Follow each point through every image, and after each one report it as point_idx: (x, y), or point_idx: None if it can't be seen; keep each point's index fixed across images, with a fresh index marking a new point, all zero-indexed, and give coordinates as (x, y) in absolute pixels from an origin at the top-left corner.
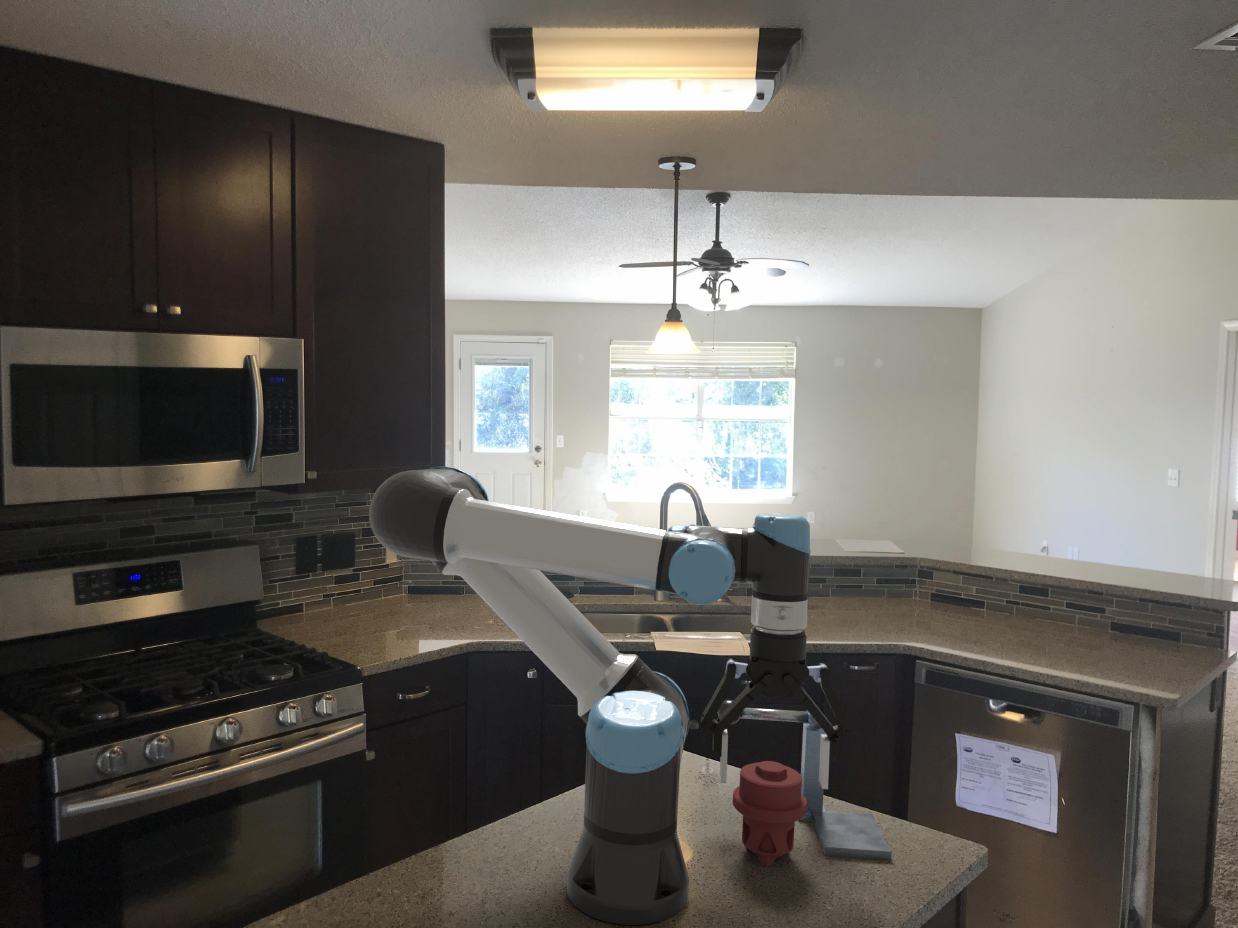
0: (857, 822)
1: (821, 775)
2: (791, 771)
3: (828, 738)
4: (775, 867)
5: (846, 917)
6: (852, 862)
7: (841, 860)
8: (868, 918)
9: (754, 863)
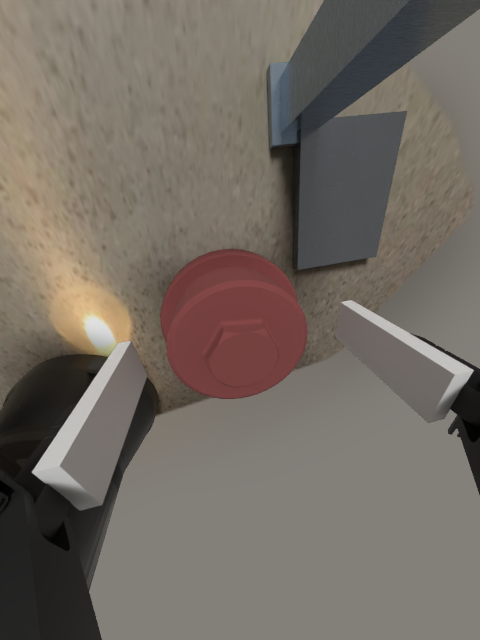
0: (366, 164)
1: (350, 336)
2: (289, 323)
3: (453, 410)
4: None
5: None
6: (321, 274)
7: (310, 273)
8: (308, 364)
9: None
